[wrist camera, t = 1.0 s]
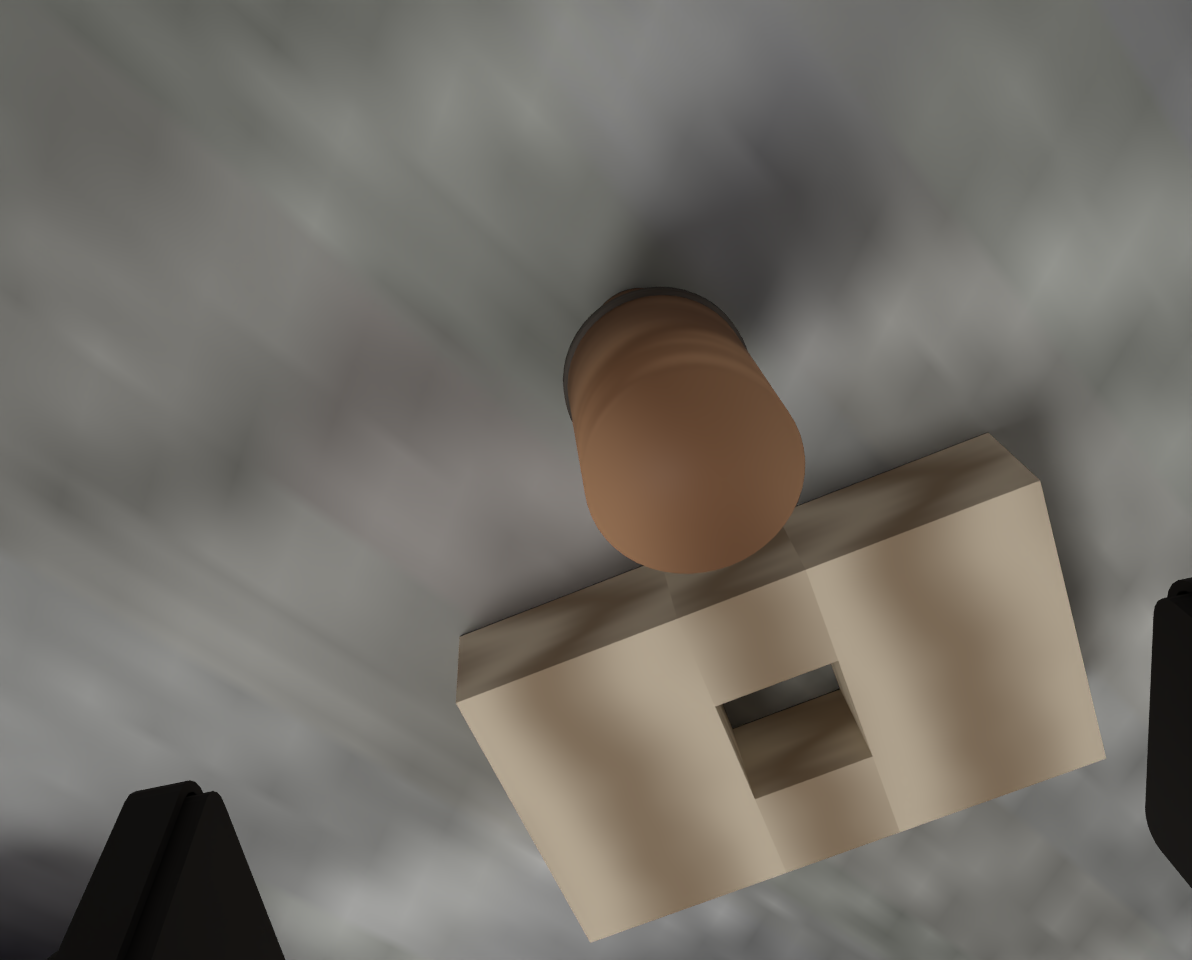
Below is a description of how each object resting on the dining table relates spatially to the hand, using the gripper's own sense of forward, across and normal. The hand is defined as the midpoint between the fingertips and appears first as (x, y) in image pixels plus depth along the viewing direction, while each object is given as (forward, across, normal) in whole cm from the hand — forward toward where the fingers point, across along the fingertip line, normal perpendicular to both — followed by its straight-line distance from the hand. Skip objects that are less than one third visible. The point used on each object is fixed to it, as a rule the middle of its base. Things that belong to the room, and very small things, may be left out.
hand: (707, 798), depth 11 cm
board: (+26, -5, +17) cm, 31 cm away
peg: (+26, -2, +3) cm, 26 cm away
